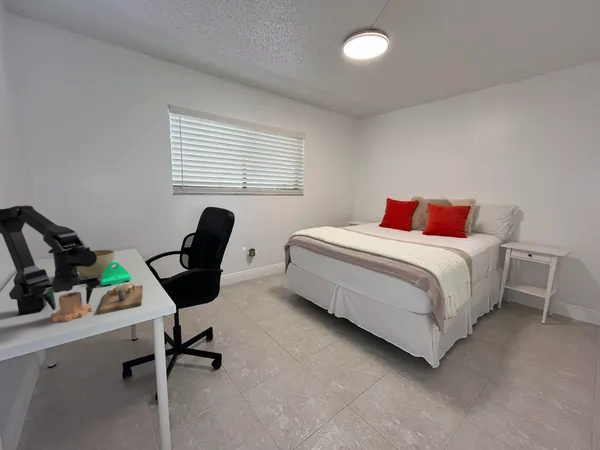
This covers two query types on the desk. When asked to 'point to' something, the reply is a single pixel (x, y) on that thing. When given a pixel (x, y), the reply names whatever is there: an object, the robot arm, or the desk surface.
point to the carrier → (122, 298)
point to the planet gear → (70, 307)
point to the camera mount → (115, 274)
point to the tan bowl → (98, 263)
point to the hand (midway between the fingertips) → (71, 306)
